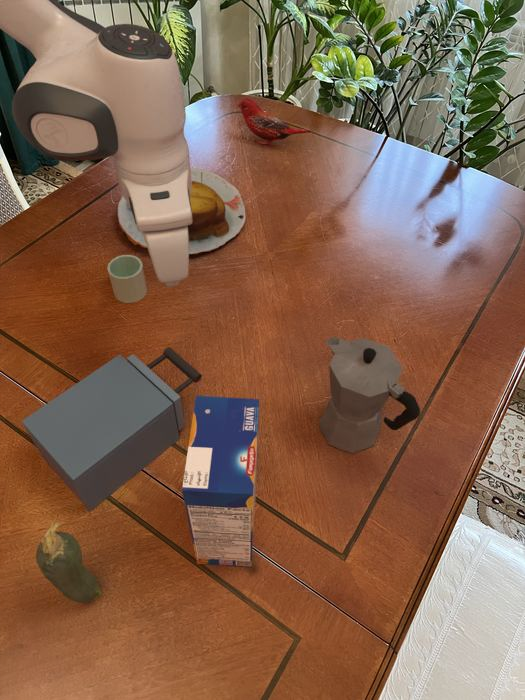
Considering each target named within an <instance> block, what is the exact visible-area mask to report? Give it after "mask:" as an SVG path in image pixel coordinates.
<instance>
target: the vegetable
mask: <svg viewBox="0 0 525 700" xmlns="http://www.w3.org/2000/svg"><path fill="white" fill-rule="evenodd" d="M61 527H63V523H59V520H57V521H53V522H50V528H49V529H46V531H45V532H46V534H44V537H42V538H41V539H40V542H39V544H38V546H37V548H36V554H35V560H36V563H37V566H38V567H39V569H40V571H41V573H42V575H43V576H44V578H46V579H47V580H48V581H49V582H50V583H51V585H52V586H53V587H54V588H56V589H57V590H58V591H59V592H60V593H61V594H62V595H63V596H64V597H65V598H66V599H68V600H70V601H71V602H75V603H79V604H82V605H87V604H90V603H91V602H93V601H95V600H97V599H99V597H102V591H101V588H100V582H99V581H98V579H97V577H96V576H95V574H93V573H92V572H91V571H90V570H89V569H88V568H87V567H86V566H85V565H84V562H83V552H82V548H81V546H80V543H79V541H78V540H77V538H76V537H74V535H72V534H71V533H68V532H64V531H59V530H58V529H59V528H61ZM57 530H58V531H57Z"/></svg>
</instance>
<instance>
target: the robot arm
mask: <svg viewBox="0 0 525 700" xmlns="http://www.w3.org/2000/svg"><path fill="white" fill-rule="evenodd" d="M0 30H2V31H3V32H4V33H6V34H7V35H8V36H9V37H11V38H13V40H15V41H17V42H18V43H19V44H21V45H22V46H23V47H25V48H26V49H27V50H29V51H30V53H31V54H32V55H33V57H34V58H35V59H36V60H35V62H34V64H33V65H32V66H31V67H30V68H29V69H28V71H27V73H26V74H25V76H24V77H23V78H22V81H21V82H20V84H19V86H18V88H17V89H16V92H15V93H14V96H13V98H12V103H11V111H12V116H13V119H14V122H15V125H16V126H17V129H18V130H19V132H20V133H21V135H22V136H23V138H24V139H25V140H26V141H27V143H29V144H30V146H32V147H33V148H34V149H36V150H37V151H38V152H40V153H41V154H42V155H45V156H47V157H49V158H52V159H55V160H59V161H67V162H68V161H70V162H71V161H72V162H75V161H91V160H92V161H93V160H101V159H106V158H110V157H112V159H113V164H114V168H115V169H114V170H115V172H116V173H115V174H116V177H117V183H118V188H119V192H120V195H121V197H122V196H123V197H124V198H125V200H126V202H127V204H128V205H129V207H130V208H131V211H132V214H133V216H134V220H135V224H136V225H137V229H138V231H139V232H143V235H144V238H145V241H146V245H147V248H146V249H147V251H148V254H149V257H150V260H151V263H152V266H153V270H154V273H155V275H156V278H157V280H158V282H159V283H161V284H165V286H166V287H168V288H170V287H171V288H172V287H177V286H178V285H180V282H181V281H185V280H186V279H187V278H188V276H189V272H190V264H189V263H190V254H189V238H188V225H191V224H192V209H191V203H190V195H191V186H192V180H191V169H190V168H191V160H190V150H189V149H190V148H189V144H188V141H187V139H186V137H185V132H184V131H185V125H186V121H187V119H186V118H187V117H186V116H187V115H186V103H185V95H184V88H183V82H182V76H181V72H180V68H179V63H178V60H177V57H176V55H175V52H174V50H173V47H172V46H171V44H170V42H168V40H166V38H165V37H164V36H162V35H161V34H160V33H159V32H156V31H155V30H153V29H151V28H148V27H146V26H143V25H140V24H139V25H138V24H135V23H134V24H133V23H119V24H118V23H117V24H112V25H111V24H110V25H109V26H106V27H105V26H103V25H102V24H100V23H98V22H97V21H94V20H92V19H90V18H88V17H87V16H83V15H82V14H80V13H77V12H75V11H73V10H71V9H69V8H68V7H66V6H64V5H63V4H62V3H60V2H59V1H58V0H0Z"/></svg>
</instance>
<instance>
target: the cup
mask: <svg viewBox="0 0 525 700" xmlns="http://www.w3.org/2000/svg"><path fill="white" fill-rule="evenodd" d="M143 264H144V263H142V260H141V259H140V258H139V257H137V256H135V255H132V254H121V255H118V256H115V257H114V258H112V259H111V260H110V261H109V263H108V264H107V269H106V270H107V273H108V277H109V281H110V285H111V289H112V293H113V296H114V297H115V300H117V301H118V302H120V303H123V304H134V303H138V302H140V301H141V300H143V299H144V298H145V297H146V295H147V292H148V286H147V281H146V275H145V274H146V273H145V270H144V265H143Z"/></svg>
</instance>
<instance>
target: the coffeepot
mask: <svg viewBox="0 0 525 700" xmlns="http://www.w3.org/2000/svg"><path fill="white" fill-rule="evenodd" d="M325 343H326V345H327V347H328V348H329V349H330V350H331V353H332V355H333V357H332V359H331V361H330V362H329V365H328V366H329V387H330V389H329V390H330V396H331V397H330V398H329V401H328V402H327V404H326V406H325V409H324V411H323V413H322V415H321V418H320V419H319V422H318V427H319V429H320V430H321V433H322V436H323V437H324V439H325V440H326V442H327V444H328V445H330V446H331V447H333V448H335V447H336V449H337V448H338V449H337V450H339V449H340V451H342V450H343V451H342V452H346V451H347V453H350V454H354V453H358V452H363V451H365V450H367V449H369V448H372V447H374V446H375V444H376V441H377V438H378V435H379V433H380V430H381V428H382V412H383V411H382V408H383V407H384V406H385V404H386V402H387V401H388V400H389V398H390V397H391V398H392V399H394V401H397V402H398V403H400V404H402V405H403V406H404V410H403V411H402V412H401V414H398V415H397V416H395V417H394V419H393V420H392V419H390V418H388V417H387V416H385V417H384V418H383V423H384V424H385V425H386V426H387V427H388V428H389V429H390V430H392V431H398V430H399V429H402V428H403V427H404V426H406V425H408V424H410V423H411V422H413V421H415V420H416V419H418V417H420V414H421V408H420V406H419V403H418V400H417V399H416V397H415V396H414V395H413V394H411V393H410V392H408V391H406V387H405V386H404V385H402V384H401V383H399V379H400V377H401V374H402V371H403V365H402V364H401V362H400V361H399V359H398V358H397V356H396V354H395V353H394V352H393V350H392V349H391V347H390V346H388V345H385V344H382V343H379V342H377V341H373V340H370V339H369V338H364V337H362V338H359V339H355V340H351V341H349V340H346V339H344V338H341V337H337V336H332V337H329V338H328V339H326V341H325ZM364 449H365V450H364ZM362 450H363V451H362Z"/></svg>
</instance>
